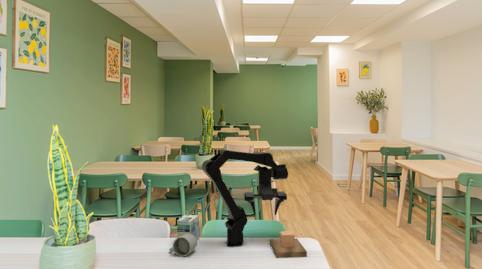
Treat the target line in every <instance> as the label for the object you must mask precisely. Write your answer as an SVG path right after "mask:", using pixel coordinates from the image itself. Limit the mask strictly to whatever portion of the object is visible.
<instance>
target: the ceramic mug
mask: <svg viewBox="0 0 482 269" xmlns="http://www.w3.org/2000/svg"><path fill="white" fill-rule="evenodd" d="M197 245H198V240H197V239H196V237H195V236H194V235H192V234H184V235H182V236H180V237H178V238H177V237H176V238H175V240H174V241H173V243H172V247H171V248H169V250H168V251H169V252H170V253H174V254H176V255H177V256H179V257H183V258H184V257H186V256H189V254H190V253H192V252H193V251H194V250H195V249H196V247H197Z"/></svg>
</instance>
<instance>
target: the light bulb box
mask: <svg viewBox="0 0 482 269" xmlns="http://www.w3.org/2000/svg"><path fill="white" fill-rule="evenodd" d="M176 222H177V223H176V232H177V233H176V234H177V235H176V236H177V237H176V239H177V238H178V237H180V236H182V235H184V234H192V235H194V236H195V237H196V239H197V241H199V239H200V215H197V214H184V215H183V216H181V217H180V218H179V219H177V220H176Z"/></svg>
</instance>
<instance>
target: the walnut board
mask: <svg viewBox="0 0 482 269" xmlns="http://www.w3.org/2000/svg"><path fill="white" fill-rule="evenodd" d="M298 239H299V238H295V247H284V248H282V246H281V244H280V238H275V239H274V238H270V239H269V246H270V245H271V246H270V248H271V247H272V248H271V250H272V249H273V250H272V252H273V254H274V256H275V258H278V259H280V258H302V257H303V258H307V257H308V256H307V255H308V253H307V250H306V248H305V247H304V246H303V244H302V243H301V242H300V241H299V240H298Z"/></svg>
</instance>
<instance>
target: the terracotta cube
mask: <svg viewBox="0 0 482 269" xmlns="http://www.w3.org/2000/svg"><path fill="white" fill-rule="evenodd" d="M295 237H296V236H295V233H294V232H293V231H292V230H288V231H287V230H286V231H285V230H284V231H279V239H280V244H281V246H282V248H284V247H295V239H296V238H295Z"/></svg>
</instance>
